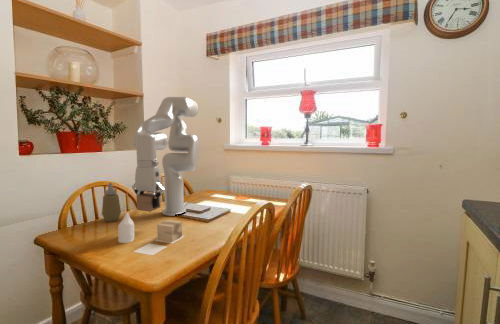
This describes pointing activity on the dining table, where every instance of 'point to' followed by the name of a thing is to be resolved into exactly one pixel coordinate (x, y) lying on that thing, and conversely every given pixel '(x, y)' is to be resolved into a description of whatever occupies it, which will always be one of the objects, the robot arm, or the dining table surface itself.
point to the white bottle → (126, 230)
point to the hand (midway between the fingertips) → (148, 205)
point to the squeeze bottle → (111, 205)
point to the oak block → (169, 230)
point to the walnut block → (146, 202)
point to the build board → (153, 248)
